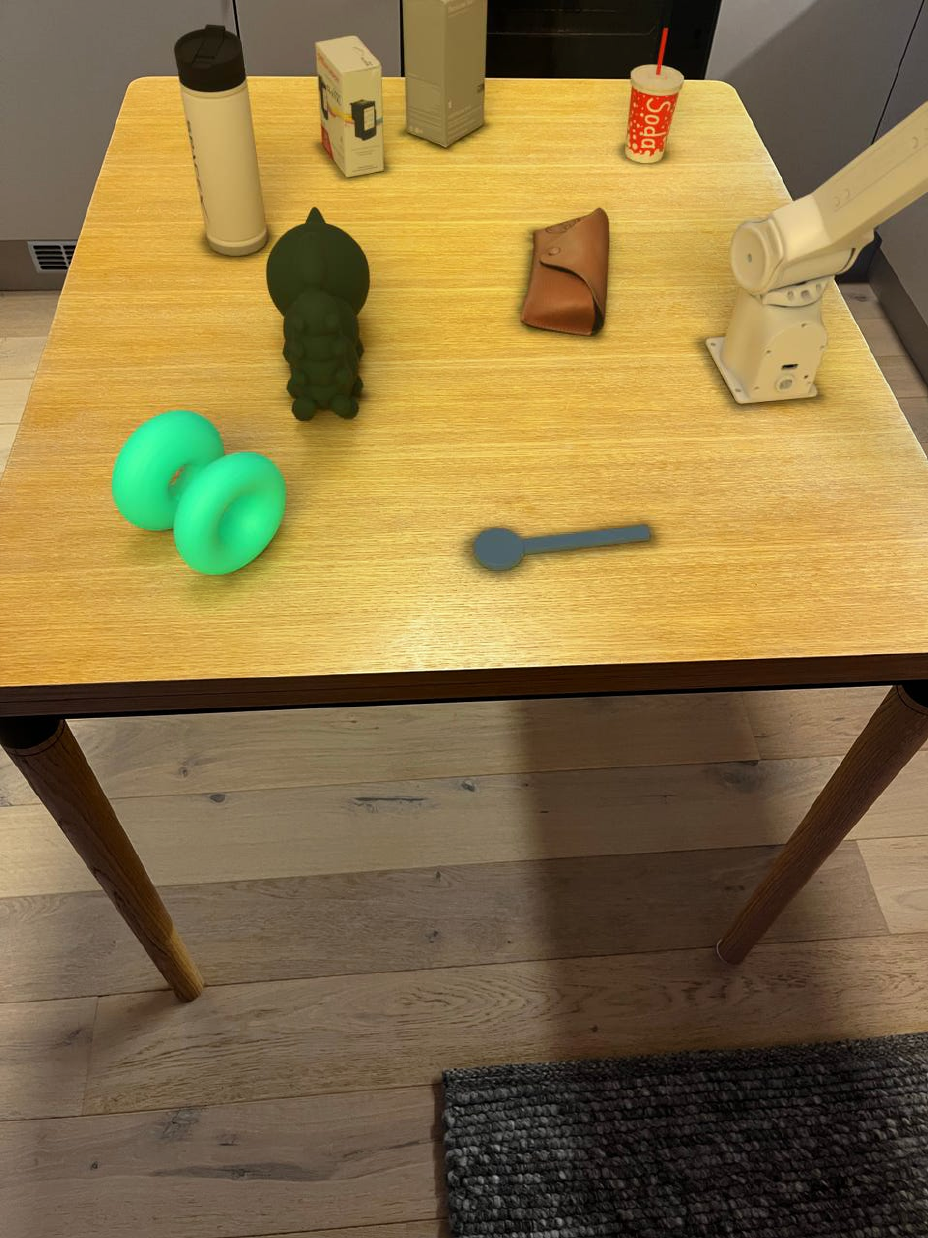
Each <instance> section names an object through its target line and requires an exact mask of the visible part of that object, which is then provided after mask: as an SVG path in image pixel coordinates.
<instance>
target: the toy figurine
mask: <svg viewBox="0 0 928 1238" xmlns="http://www.w3.org/2000/svg"><path fill="white" fill-rule="evenodd" d="M265 279H266V286H267V291H268V294H269V297H270V299H271V301H272V303H273V305H274V306H275V308H276V309H277V311H278V312H279V313H280V314H281V315H282V316H283V323H282V333H283V339H284V345H283V349H282V352H281V353H282V357H283V359H284V360H285V361H286V362H287V363H288V365H289V366H288V367H289V372H290V378H289V379H288V381H287V384H286V388H285V389H286V391H287V392H288V394H289V395H290V397H291V398H292V399H295V400H293V402H292V404H291V410H290V411H291V413H292V415H293V416H294V418H295V420H297V421H299V422H309V421H310V420H312V419H314V416H315V414H317V413H318V411H321V412H322V411H323V412H328V411H331V413H333V414H335V415H336V416H338V417H339V418H341V419H343V420H352V419H354V418H356V417H357V416H358V413H359V410H360V404H359V401H358V400H357V398H356V397H357V396H359V395H361V392H362V391H363V388H364V386H365V385H364V382H363V380H362V378H361V377H360V375H359V369H360V367H359V366H360V361H361V359H362V357H363V356H364V353H365V347H364V345H363V342H362V340H361V338H360V323H359V320H358V315H359V314H360V312H361V311H362V309H363V308H364V306H365V304H366V302H367V300H368V296H369V292H370V287H371V272H370V264H369V262H368V258H367V255H366V254H365V252H364V250H363V248H362V247H361V246H360V244H359V243H358V242H357V241H356V240H355V239H354V238H353V237H352V235H350V234H349V233H348V232H347V231H345V230H343V229H342V228H341V227H338V226H336V225H334V224H331V223H327V222H326V220H325V219H324V216H323V215H322V213H321V211H320V209H319V208H318V207H317V206H313V207H312V208H311V209H310V211H309V214H308V215H307V217H306V220H305V222H304V223H301V224H298V225H295V226H294V227H292V228H290V229H288V230H287V231H286V232H284V233H283V234H282V235H281V236H280V237H279V239H278V240H277V241H276V242H275V244H274V245H273V247H272V249H270V252H269V253H268V257H267V260H266V268H265Z"/></svg>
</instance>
